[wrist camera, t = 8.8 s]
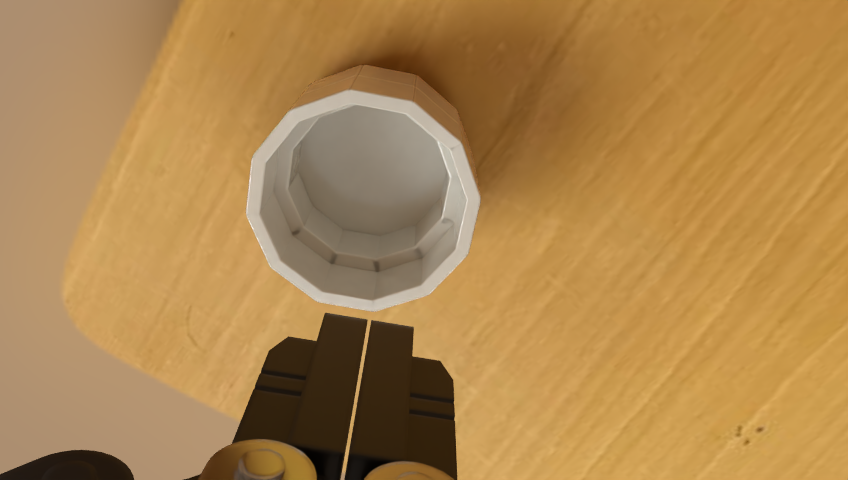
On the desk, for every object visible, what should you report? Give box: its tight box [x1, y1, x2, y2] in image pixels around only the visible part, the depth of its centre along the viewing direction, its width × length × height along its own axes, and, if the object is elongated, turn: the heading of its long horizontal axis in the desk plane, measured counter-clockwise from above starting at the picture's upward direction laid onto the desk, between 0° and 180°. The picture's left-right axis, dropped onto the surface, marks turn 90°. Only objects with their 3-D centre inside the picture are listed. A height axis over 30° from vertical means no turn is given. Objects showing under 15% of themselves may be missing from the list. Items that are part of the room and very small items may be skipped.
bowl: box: [246, 65, 481, 312], centre depth 23 cm, size 6×6×4 cm
